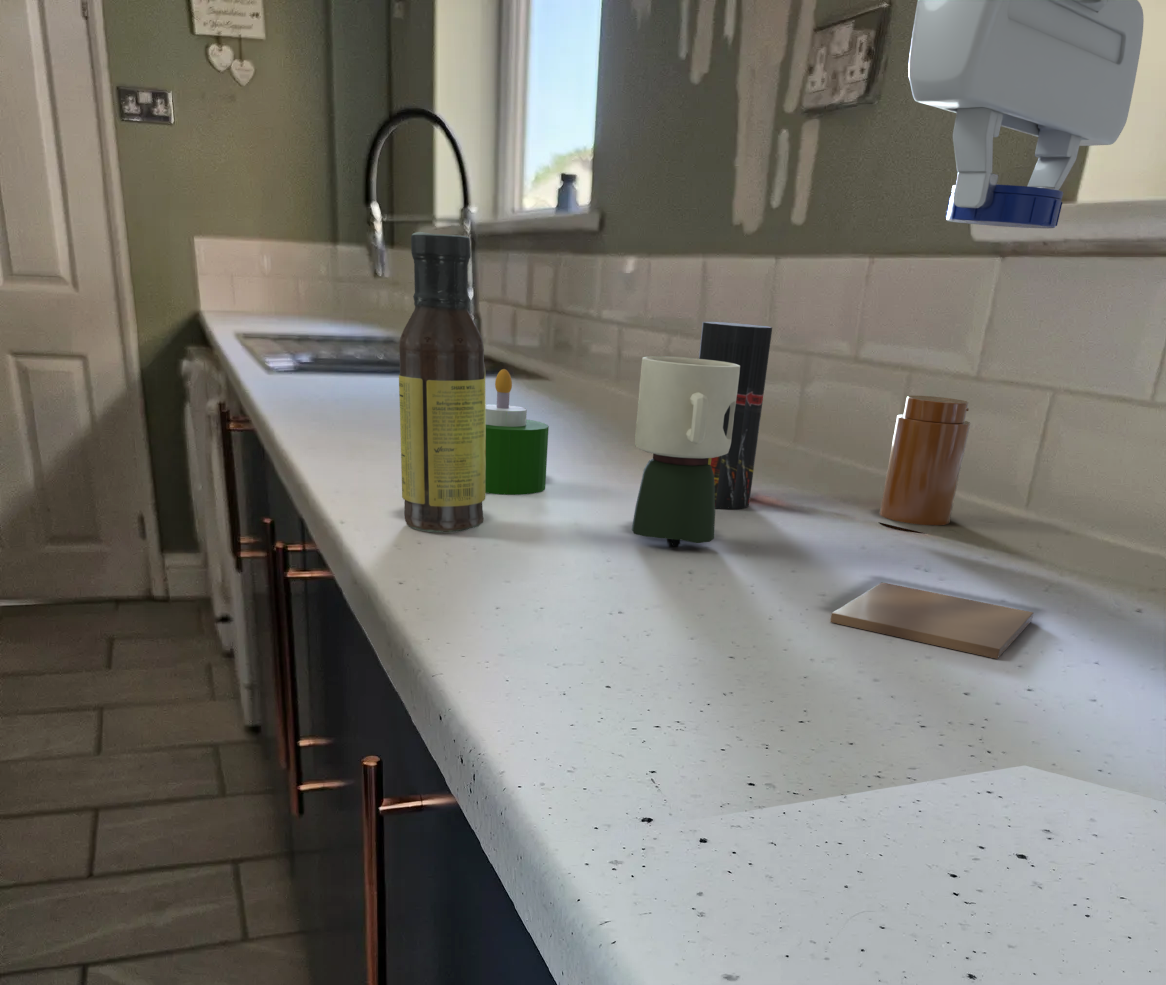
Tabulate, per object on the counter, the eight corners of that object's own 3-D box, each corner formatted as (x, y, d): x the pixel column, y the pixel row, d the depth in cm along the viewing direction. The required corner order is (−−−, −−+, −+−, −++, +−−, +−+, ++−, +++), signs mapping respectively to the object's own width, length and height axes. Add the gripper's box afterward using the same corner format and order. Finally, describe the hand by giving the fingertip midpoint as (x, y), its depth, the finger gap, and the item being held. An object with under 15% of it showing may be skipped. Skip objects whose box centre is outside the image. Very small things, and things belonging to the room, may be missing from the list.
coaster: (1031, 621, 70) (1034, 612, 70) (997, 659, 62) (999, 649, 62) (879, 590, 74) (881, 581, 74) (829, 622, 67) (831, 612, 66)
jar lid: (934, 220, 69) (941, 187, 68) (1034, 229, 69) (1042, 195, 68) (961, 218, 63) (969, 181, 63) (1070, 227, 63) (1079, 190, 63)
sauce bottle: (497, 524, 85) (507, 239, 76) (462, 539, 79) (469, 234, 71) (422, 513, 87) (424, 233, 78) (384, 527, 81) (381, 228, 73)
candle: (553, 496, 97) (560, 376, 93) (460, 493, 95) (463, 371, 91) (535, 478, 104) (541, 366, 100) (448, 475, 102) (450, 362, 98)
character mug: (733, 561, 79) (758, 371, 74) (636, 557, 78) (654, 364, 73) (702, 528, 89) (722, 357, 83) (616, 523, 88) (630, 351, 82)
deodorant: (761, 508, 98) (785, 328, 92) (702, 509, 96) (723, 325, 90) (729, 495, 103) (750, 323, 97) (672, 495, 101) (690, 320, 95)
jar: (960, 529, 96) (987, 403, 91) (925, 536, 92) (952, 404, 88) (900, 516, 100) (924, 393, 95) (864, 522, 96) (887, 395, 91)
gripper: (1088, -19, 69) (1034, 226, 75) (913, -110, 56) (864, 196, 61) (1192, -31, 65) (1126, 229, 70) (1030, -132, 52) (965, 198, 57)
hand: (1002, 214), depth 66 cm, fingers closed on jar lid, 6 cm apart
